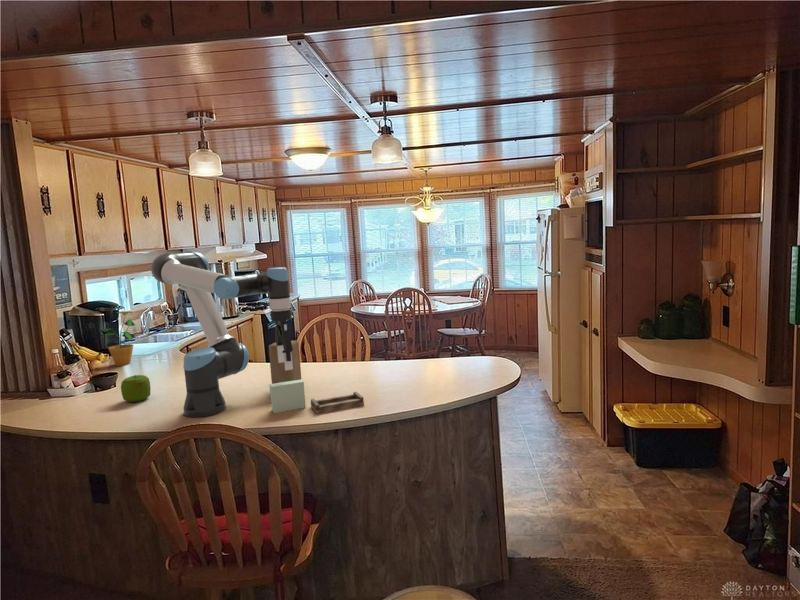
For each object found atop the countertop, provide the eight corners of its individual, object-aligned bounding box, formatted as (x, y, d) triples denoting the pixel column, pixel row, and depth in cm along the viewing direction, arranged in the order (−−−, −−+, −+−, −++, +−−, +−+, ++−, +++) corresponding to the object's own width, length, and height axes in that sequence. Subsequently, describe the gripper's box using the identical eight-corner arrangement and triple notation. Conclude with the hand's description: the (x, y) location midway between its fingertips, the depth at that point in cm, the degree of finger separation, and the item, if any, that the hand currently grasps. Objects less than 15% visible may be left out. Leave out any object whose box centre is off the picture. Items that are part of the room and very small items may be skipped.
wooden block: (293, 391, 221) (289, 344, 219) (271, 391, 223) (267, 345, 221) (302, 384, 231) (299, 339, 228) (281, 384, 233) (277, 340, 230)
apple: (124, 398, 225) (121, 373, 223) (152, 394, 228) (149, 370, 227) (121, 406, 214) (117, 379, 213) (150, 401, 218) (147, 376, 217)
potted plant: (148, 361, 297) (142, 308, 293) (116, 369, 281) (109, 313, 277) (129, 359, 306) (123, 307, 302) (97, 366, 290) (90, 312, 286)
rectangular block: (273, 413, 195) (271, 386, 194) (271, 410, 199) (269, 384, 197) (305, 407, 200) (303, 381, 198) (303, 404, 203) (301, 379, 202)
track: (316, 413, 192) (316, 405, 191) (311, 406, 200) (310, 399, 199) (364, 405, 198) (363, 397, 198) (356, 398, 207) (356, 391, 206)
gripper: (297, 312, 185) (302, 371, 187) (284, 305, 208) (289, 358, 210) (276, 314, 182) (281, 374, 184) (265, 307, 205) (269, 360, 207)
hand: (285, 365), depth 197 cm, fingers open, 13 cm apart
